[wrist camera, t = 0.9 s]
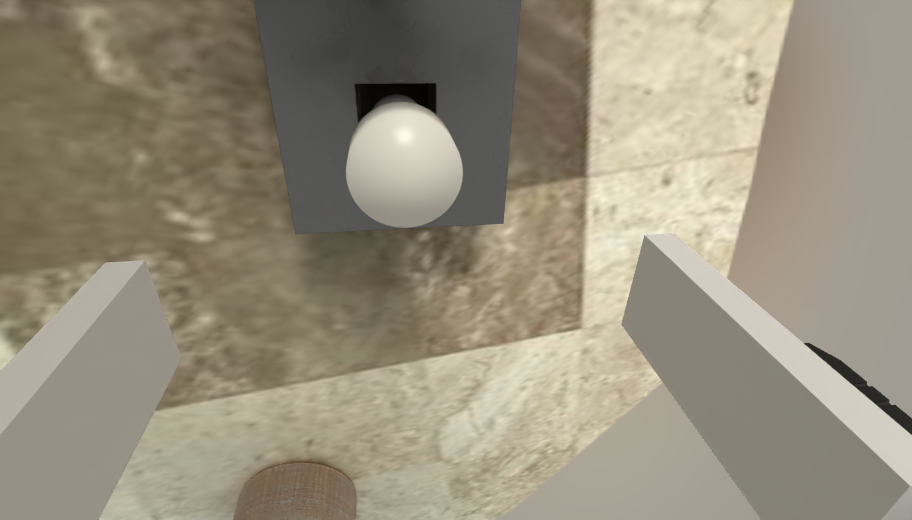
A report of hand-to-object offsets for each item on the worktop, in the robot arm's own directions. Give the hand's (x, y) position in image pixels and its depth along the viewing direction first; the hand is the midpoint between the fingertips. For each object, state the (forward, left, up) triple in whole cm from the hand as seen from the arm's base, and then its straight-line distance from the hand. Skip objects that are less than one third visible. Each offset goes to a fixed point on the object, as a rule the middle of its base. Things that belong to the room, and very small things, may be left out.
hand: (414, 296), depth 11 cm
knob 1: (0, 0, -16) cm, 16 cm away
